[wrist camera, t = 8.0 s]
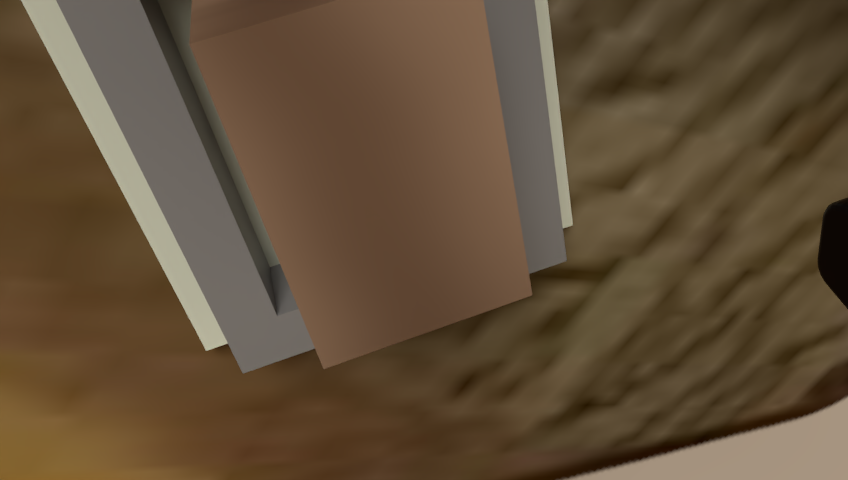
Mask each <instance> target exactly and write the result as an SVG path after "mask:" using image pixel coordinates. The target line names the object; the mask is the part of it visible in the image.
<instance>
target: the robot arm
mask: <svg viewBox="0 0 848 480" xmlns="http://www.w3.org/2000/svg"><path fill="white" fill-rule="evenodd" d="M818 268H819V271H820V274H821V276H822V278H823V279H824V281H825V282H826V284H827V285H828V286H829V287H830V289H831V290H832V291H833V292H834V293H835V295H836V296H837V297H838V298H839V299H840V300H841V302H842V303H843V304H844V305H845V306H846V308H847V309H848V198H845V199H842V200H839V201H837V202H834V203H832V204H830V205H829V206H828V207H827V209H826V210H825V212H824V215H823V220H822V229H821V237H820V245H819V253H818Z"/></svg>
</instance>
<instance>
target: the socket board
mask: <svg viewBox="0 0 848 480" xmlns="http://www.w3.org/2000/svg"><path fill="white" fill-rule="evenodd" d="M21 1H22V3H23V5H24V7H25V9H26V11H27V13H28V14H29V16H30V18H31V20H32V22H33V24H34V26H35V28H36V30H37V31H38V33H39V35H40V37H41V39H42V41H43V43H44V45H45V47H46V48H47V50H48V52H49V54H50V56H51V58H52V60H53V62H54V64H55V65H56V67H57V69H58V71H59V73H60V75H61V77H62V79H63V81H64V82H65V84H66V86H67V88H68V90H69V92H70V94H71V96H72V98H73V100H74V101H75V103H76V105H77V107H78V109H79V111H80V113H81V115H82V117H83V118H84V120H85V122H86V124H87V126H88V128H89V130H90V132H91V134H92V135H93V137H94V139H95V141H96V143H97V145H98V147H99V149H100V151H101V152H102V154H103V156H104V158H105V160H106V162H107V164H108V166H109V168H110V169H111V171H112V173H113V175H114V177H115V179H116V181H117V183H118V185H119V187H120V188H121V190H122V192H123V194H124V196H125V198H126V200H127V202H128V204H129V205H130V207H131V209H132V211H133V213H134V215H135V217H136V219H137V221H138V222H139V224H140V226H141V228H142V230H143V232H144V234H145V236H146V238H147V239H148V241H149V243H150V245H151V247H152V249H153V251H154V253H155V255H156V256H157V258H158V260H159V262H160V264H161V266H162V268H163V270H164V272H165V274H166V275H167V277H168V279H169V281H170V283H171V285H172V287H173V289H174V291H175V292H176V294H177V296H178V298H179V300H180V302H181V304H182V306H183V308H184V309H185V311H186V313H187V315H188V317H189V319H190V321H191V323H192V325H193V326H194V328H195V330H196V332H197V334H198V336H199V338H200V340H201V342H202V343H203V345H204V347H205V349H206V351H207V350H210V349H213V348H216V347H219V346H222V345H225V344H228V345H229V347H230V349H231V351H232V353H233V355H234V357H235V358H236V360H237V362H238V364H239V366H240V368H241V370H242V372H243V373H246V372H249V371H252V370H255V369H257V368H260V367H263V366H266V365H269V364H272V363H275V362H278V361H280V360H283V359H286V358H289V357H292V356H295V355H298V354H301V353H303V352H306V351H309V350H312V349H315V347H314V345H313V342H312V340H311V338H310V335H309V333H308V330H307V328H306V325H305V323H304V321H303V318H302V316H301V313H300V311H299V308H298V306H297V304H296V301H295V299H294V296H293V294H292V292H291V289H290V287H289V284H288V282H287V279H286V277H285V275H284V272H283V270H282V267H281V265H280V262H279V260H278V258H277V255H276V253H275V250H274V248H273V246H272V243H271V241H270V238H269V236H268V233H267V231H266V229H265V226H264V224H263V221H262V219H261V217H260V214H259V212H258V209H257V207H256V204H255V202H254V200H253V197H252V195H251V192H250V190H249V188H248V185H247V183H246V180H245V178H244V175H243V173H242V171H241V168H240V166H239V163H238V161H237V158H236V156H235V154H234V151H233V149H232V146H231V144H230V142H229V139H228V137H227V134H226V132H225V129H224V127H223V125H222V122H221V120H220V117H219V115H218V113H217V110H216V108H215V105H214V103H213V100H212V98H211V96H210V93H209V91H208V88H207V86H206V83H205V81H204V79H203V76H202V74H201V71H200V69H199V67H198V64H197V62H196V59H195V57H194V54H193V52H192V50H191V47H190V45H189V41H190V24H191V6H192V0H21ZM483 1H484V7H485V13H486V19H487V25H488V31H489V37H490V43H491V49H492V55H493V61H494V67H495V73H496V79H497V85H498V91H499V97H500V103H501V109H502V115H503V121H504V127H505V133H506V139H507V145H508V151H509V157H510V163H511V169H512V175H513V181H514V187H515V193H516V199H517V205H518V211H519V217H520V223H521V229H522V235H523V241H524V247H525V253H526V259H527V265H528V271H529V274H530V273H533V272H536V271H539V270H542V269H545V268H548V267H551V266H553V265H556V264H559V263H562V262H565V261H567V258H566V250H565V242H564V234H563V228H566V227H569V226H572V225H573V222H572V213H571V204H570V195H569V186H568V177H567V169H566V160H565V151H564V142H563V133H562V124H561V116H560V107H559V98H558V89H557V80H556V71H555V63H554V54H553V45H552V36H551V27H550V18H549V9H548V1H547V0H483Z"/></svg>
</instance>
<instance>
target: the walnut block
mask: <svg viewBox="0 0 848 480" xmlns="http://www.w3.org/2000/svg"><path fill="white" fill-rule="evenodd" d="M189 45H190V47H191V50H192V52H193V54H194V57H195V59H196V62H197V64H198V67H199V69H200V71H201V74H202V76H203V79H204V81H205V83H206V86H207V88H208V91H209V93H210V96H211V98H212V100H213V103H214V105H215V108H216V110H217V113H218V115H219V117H220V120H221V122H222V125H223V127H224V129H225V132H226V134H227V137H228V139H229V142H230V144H231V146H232V149H233V151H234V154H235V156H236V158H237V161H238V163H239V166H240V168H241V171H242V173H243V175H244V178H245V180H246V183H247V185H248V188H249V190H250V192H251V195H252V197H253V200H254V202H255V204H256V207H257V209H258V212H259V214H260V217H261V219H262V221H263V224H264V226H265V229H266V231H267V233H268V236H269V238H270V241H271V243H272V246H273V248H274V250H275V253H276V255H277V258H278V260H279V262H280V265H281V267H282V270H283V272H284V275H285V277H286V279H287V282H288V284H289V287H290V289H291V292H292V294H293V296H294V299H295V301H296V304H297V306H298V308H299V311H300V313H301V316H302V318H303V321H304V323H305V325H306V328H307V330H308V333H309V335H310V338H311V340H312V342H313V345H314V347H315V350H316V352H317V354H318V357H319V359H320V362H321V364H322V367H323V369H326V368H329V367H331V366H334V365H337V364H340V363H343V362H345V361H348V360H351V359H354V358H357V357H360V356H362V355H365V354H368V353H371V352H374V351H377V350H379V349H382V348H385V347H388V346H391V345H393V344H396V343H399V342H402V341H405V340H408V339H410V338H413V337H416V336H419V335H422V334H425V333H427V332H430V331H433V330H436V329H439V328H442V327H444V326H447V325H450V324H453V323H456V322H458V321H461V320H464V319H467V318H470V317H473V316H475V315H478V314H481V313H484V312H487V311H490V310H492V309H495V308H498V307H501V306H504V305H506V304H509V303H512V302H515V301H518V300H521V299H523V298H526V297H529V296H532V289H531V283H530V277H529V271H528V265H527V259H526V253H525V247H524V241H523V235H522V229H521V223H520V217H519V211H518V205H517V199H516V193H515V187H514V181H513V175H512V169H511V163H510V157H509V151H508V145H507V139H506V133H505V127H504V121H503V115H502V109H501V103H500V97H499V91H498V85H497V79H496V73H495V67H494V61H493V55H492V49H491V43H490V37H489V31H488V25H487V19H486V13H485V7H484V1H483V0H192V6H191V24H190V41H189Z"/></svg>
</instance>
